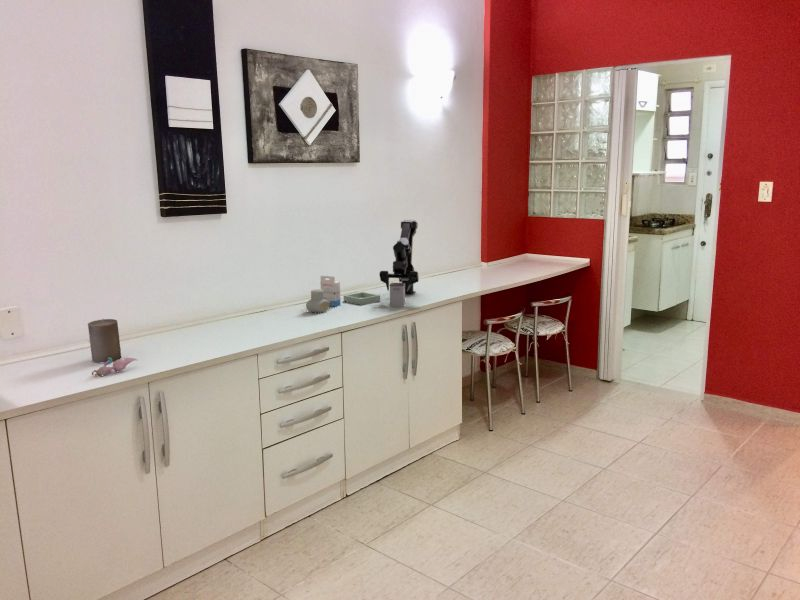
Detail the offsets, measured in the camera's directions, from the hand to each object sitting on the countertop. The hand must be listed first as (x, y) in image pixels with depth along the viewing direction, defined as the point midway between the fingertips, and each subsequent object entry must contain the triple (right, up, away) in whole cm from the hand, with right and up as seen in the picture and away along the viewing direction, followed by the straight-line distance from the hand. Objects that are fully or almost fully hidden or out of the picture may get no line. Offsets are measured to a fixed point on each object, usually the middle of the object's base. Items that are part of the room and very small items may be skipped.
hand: (397, 290), depth 319 cm
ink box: (-32, -7, +5) cm, 34 cm away
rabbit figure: (-94, -29, -97) cm, 138 cm away
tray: (-18, -5, +14) cm, 23 cm away
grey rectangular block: (0, -7, +2) cm, 8 cm away
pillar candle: (-103, -26, -82) cm, 135 cm away
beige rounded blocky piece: (-37, -10, -8) cm, 39 cm away
